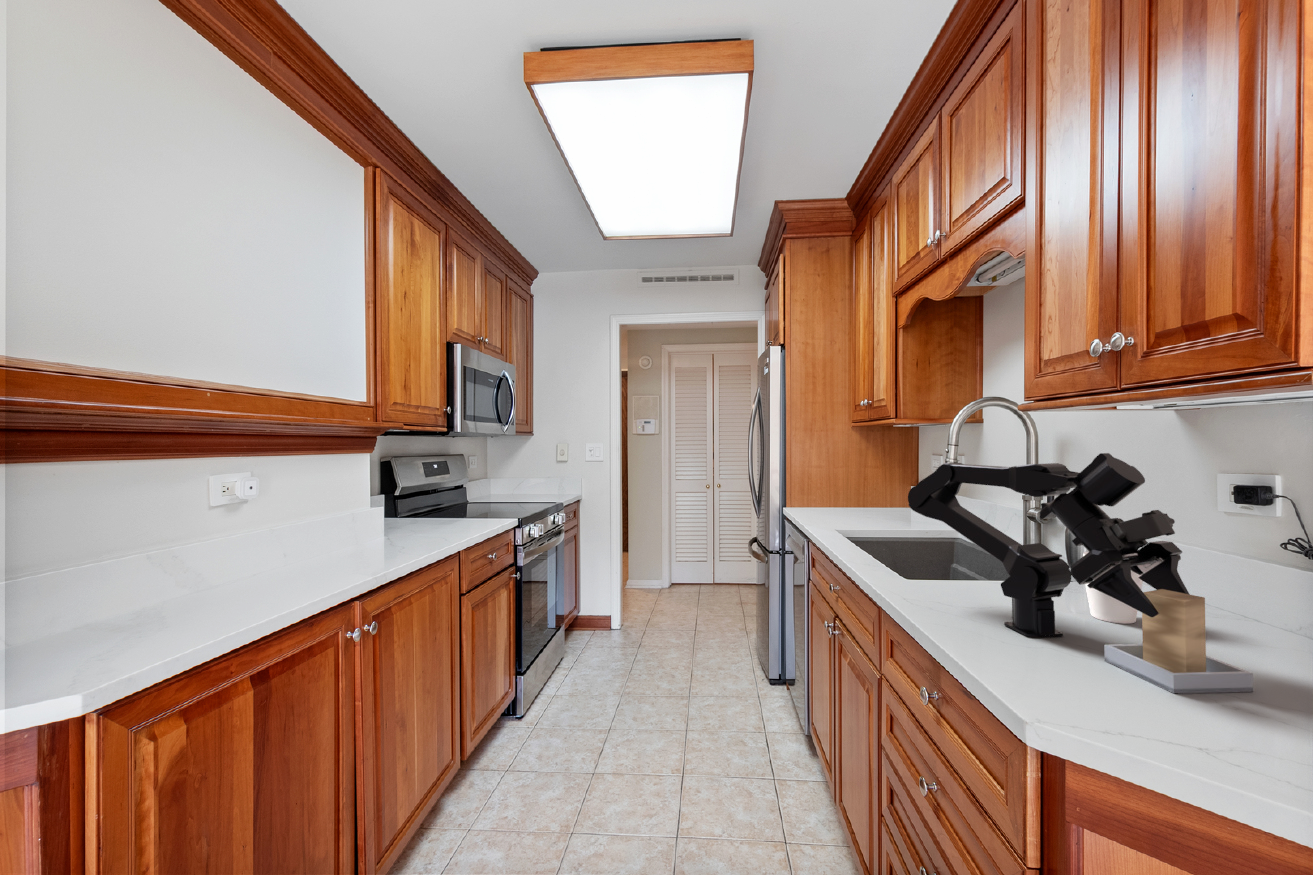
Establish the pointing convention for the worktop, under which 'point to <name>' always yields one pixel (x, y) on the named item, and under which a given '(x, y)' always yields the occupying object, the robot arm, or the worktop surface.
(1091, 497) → the robot arm
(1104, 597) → the cup
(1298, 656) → the worktop surface
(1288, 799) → the worktop surface
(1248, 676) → the dish
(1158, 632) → the oak block
